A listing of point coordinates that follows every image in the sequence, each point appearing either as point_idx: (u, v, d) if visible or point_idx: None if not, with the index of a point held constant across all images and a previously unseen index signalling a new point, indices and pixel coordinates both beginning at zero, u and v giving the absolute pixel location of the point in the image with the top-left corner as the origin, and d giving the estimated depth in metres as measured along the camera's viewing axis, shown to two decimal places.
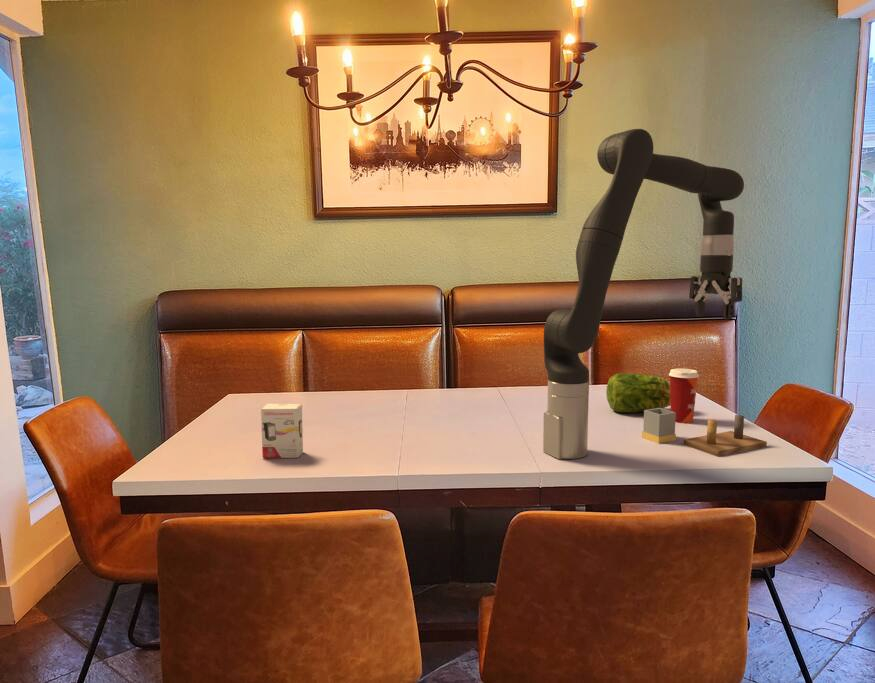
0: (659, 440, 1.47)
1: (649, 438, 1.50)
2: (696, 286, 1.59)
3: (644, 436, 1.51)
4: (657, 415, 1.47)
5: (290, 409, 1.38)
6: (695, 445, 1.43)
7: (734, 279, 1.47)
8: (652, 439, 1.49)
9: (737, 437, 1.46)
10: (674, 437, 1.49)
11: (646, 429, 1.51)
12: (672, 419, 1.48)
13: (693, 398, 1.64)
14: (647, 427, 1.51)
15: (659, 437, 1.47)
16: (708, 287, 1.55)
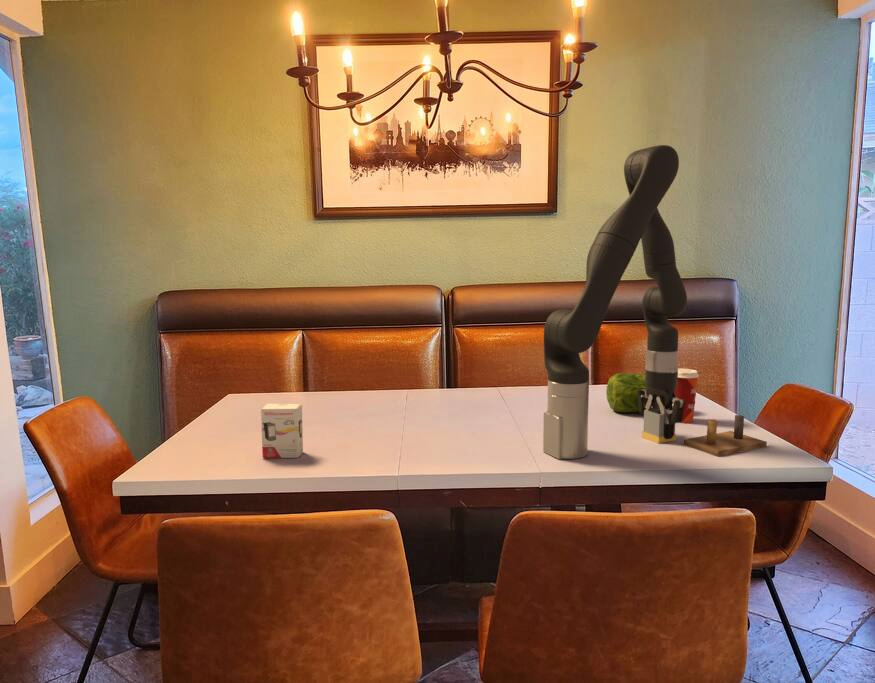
0: (659, 440, 1.47)
1: (649, 438, 1.50)
2: (644, 400, 1.54)
3: (644, 436, 1.51)
4: (657, 415, 1.47)
5: (290, 409, 1.38)
6: (695, 445, 1.43)
7: (677, 402, 1.43)
8: (652, 439, 1.49)
9: (737, 437, 1.46)
10: (674, 437, 1.49)
11: (646, 429, 1.51)
12: None
13: (693, 398, 1.64)
14: (647, 427, 1.51)
15: (659, 437, 1.47)
16: (654, 401, 1.50)
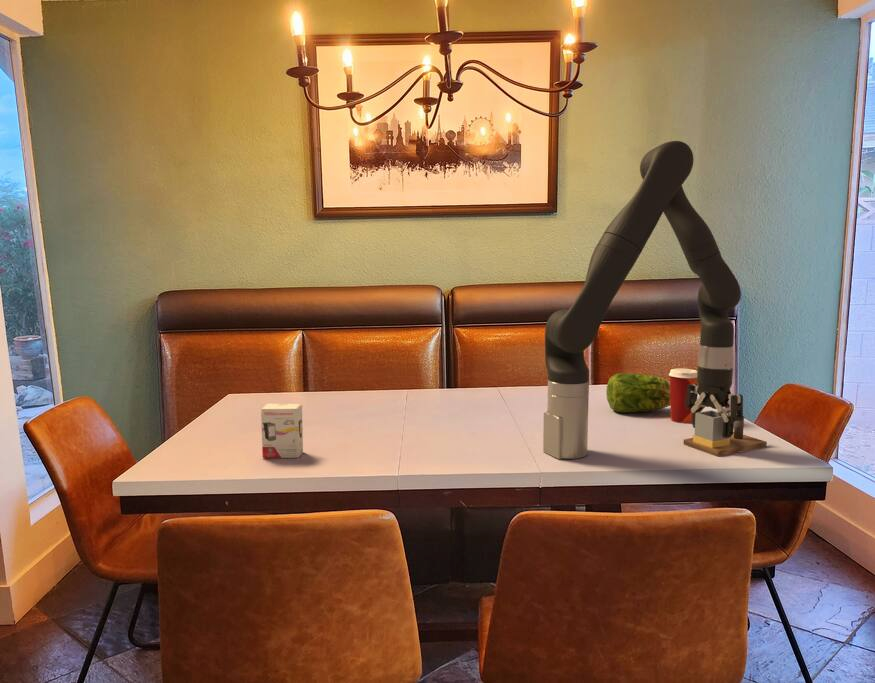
0: (713, 445, 1.40)
1: (701, 442, 1.42)
2: (693, 395, 1.47)
3: (695, 440, 1.44)
4: (711, 418, 1.39)
5: (290, 409, 1.38)
6: (695, 445, 1.43)
7: (734, 397, 1.35)
8: (705, 443, 1.41)
9: (737, 437, 1.46)
10: (728, 441, 1.41)
11: (698, 433, 1.43)
12: None
13: None
14: (699, 431, 1.43)
15: (713, 441, 1.40)
16: (706, 400, 1.42)
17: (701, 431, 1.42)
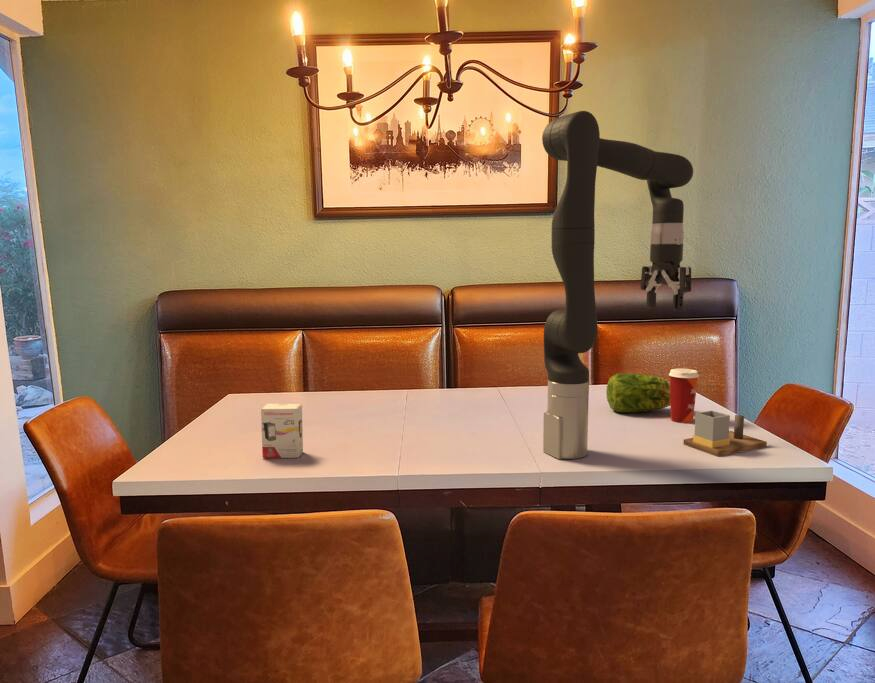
0: (713, 445, 1.40)
1: (701, 442, 1.42)
2: (647, 276, 1.54)
3: (695, 440, 1.44)
4: (711, 418, 1.39)
5: (290, 409, 1.38)
6: (695, 445, 1.43)
7: (682, 268, 1.43)
8: (705, 443, 1.41)
9: (737, 437, 1.46)
10: (728, 441, 1.41)
11: (698, 433, 1.43)
12: (726, 422, 1.41)
13: (693, 398, 1.64)
14: (699, 431, 1.43)
15: (713, 441, 1.40)
16: (658, 277, 1.50)
17: (701, 431, 1.42)
